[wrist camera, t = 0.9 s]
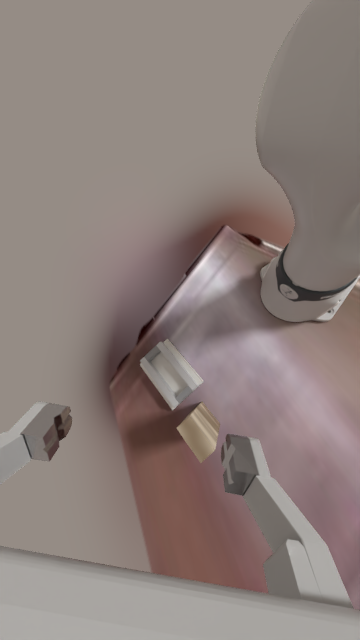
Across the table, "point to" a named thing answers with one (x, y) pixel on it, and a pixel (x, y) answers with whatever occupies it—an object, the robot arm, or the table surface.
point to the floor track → (170, 373)
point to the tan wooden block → (200, 431)
